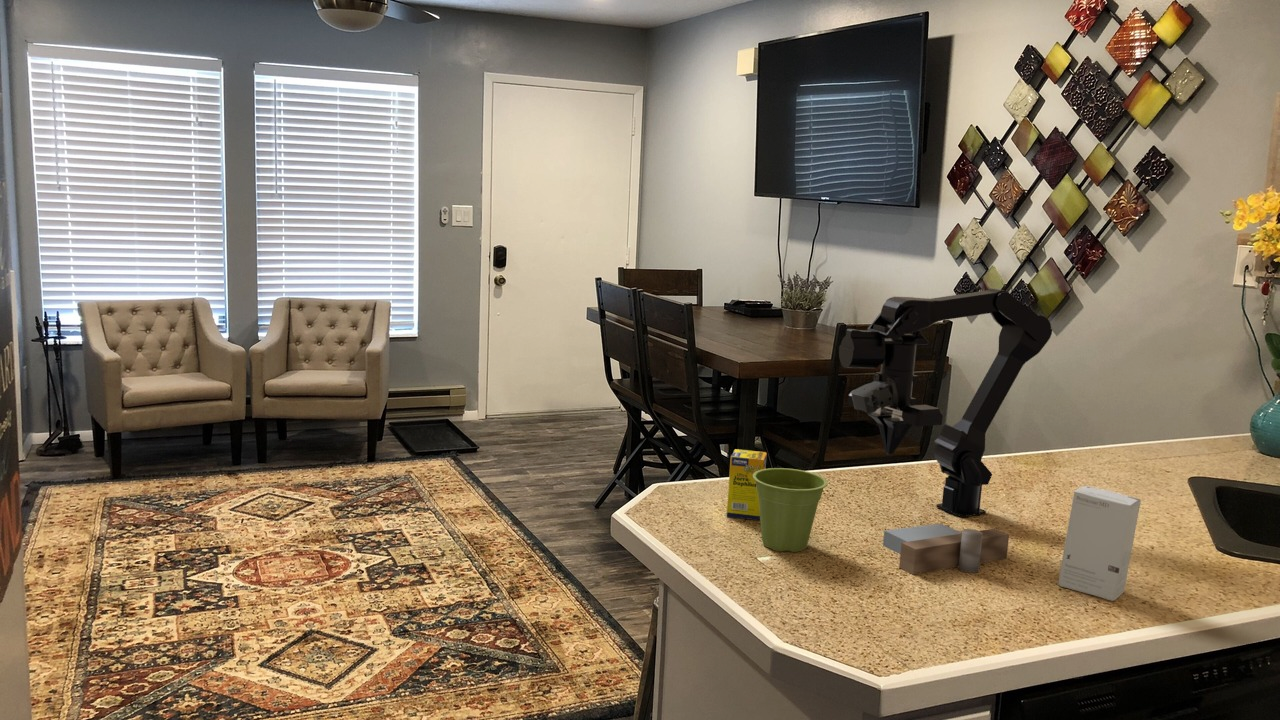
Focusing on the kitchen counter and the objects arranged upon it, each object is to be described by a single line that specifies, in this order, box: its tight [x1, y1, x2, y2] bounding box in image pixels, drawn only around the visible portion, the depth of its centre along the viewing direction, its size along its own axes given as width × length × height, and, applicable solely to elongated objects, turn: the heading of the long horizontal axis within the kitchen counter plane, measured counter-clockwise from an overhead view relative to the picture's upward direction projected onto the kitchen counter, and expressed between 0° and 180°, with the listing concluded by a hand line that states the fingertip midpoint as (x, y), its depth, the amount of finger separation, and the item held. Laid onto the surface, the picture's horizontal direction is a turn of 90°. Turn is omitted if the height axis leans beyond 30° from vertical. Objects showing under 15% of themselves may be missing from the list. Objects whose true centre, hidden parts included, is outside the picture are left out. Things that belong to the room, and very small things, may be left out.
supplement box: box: [726, 448, 768, 521], centre depth 174 cm, size 6×6×11 cm
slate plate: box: [882, 523, 962, 555], centre depth 161 cm, size 12×8×3 cm, turn 115°
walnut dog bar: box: [898, 528, 1010, 575], centre depth 154 cm, size 20×6×6 cm, turn 118°
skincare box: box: [1058, 485, 1142, 602], centre depth 146 cm, size 8×6×15 cm
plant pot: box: [753, 467, 828, 553], centre depth 159 cm, size 12×12×11 cm
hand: (889, 453), depth 178 cm, fingers closed
